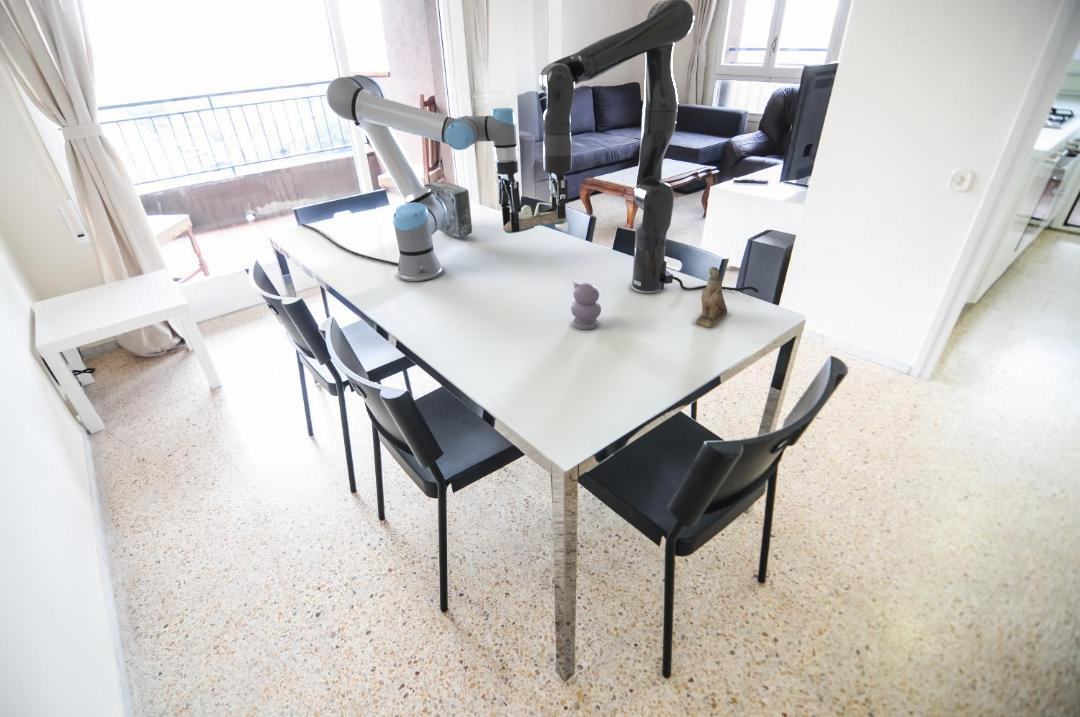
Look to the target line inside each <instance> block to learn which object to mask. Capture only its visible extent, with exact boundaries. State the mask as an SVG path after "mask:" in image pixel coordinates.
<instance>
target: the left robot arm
mask: <svg viewBox="0 0 1080 717" xmlns="http://www.w3.org/2000/svg"><path fill="white" fill-rule="evenodd" d="M325 99H326V102H327V105H328V107H329V109H330V110H331V111H332V113H333V114H334V115H336V116H337V117H339V118H341V119H343V120H347V121H351V122H353V124H354V125H355V127H356V128H357V129H358V130H361V131H363V132H364V134H365V135H366V137H367V138H368V140H369V143H371V146H372V147H373V149H374V151H375V153H376V154H377V156H378V157H379V159H380V161H381V163H382V164H383V166H384V168H385V169H386V171H387V173H388V175H389V176H390V178H391V180H392V182H393V183H394V185H395V187H396V188H397V190H398V192H399V194H400V196H401V197H402V201H401V204H400V205H398V206H397V207H395V208H394V210H393V212H392V224H393V226H394V230H395V231H394V232H395V236H396V242H397V247H398V251H399V259H398V262H395V261H390V260H386V259H381V258H376V257H373V256H369V255H366V254H362V253H359V252H356V251H354V250H351V249H349V248H346V247H344V246H342V245H341V244H340V243H337V241H335V240H333V239H332V238H331V237H330V236H328V235H326V234H325V233H324V232H322V230H321V231H320V230H319V229H317V228H315V227H313V226H311V225H308V224H306V223H301V226H303V227H306V228H308V229H311V230H313V231H315V232H317V233H318V234H320V235H322V236H324V237H325V239H327V240H329V242H331V243H333V244H334V245H335V246H337V247H339V248H340V249H342V250H344V251H345V252H348V253H351V254H353V255H356V256H359V257H362V258H365V259H368V260H373V261H376V262H380V263H386V264H390V265H395V266H397V276H398V278H399V279H400V280H402V281H406V282H413V283H414V282H425V281H429V280H432V279H435V278H438V277H439V276H440V275H441V274H442V273H443V268H442V264H441V263H440V260H439V259H438V256H437V254H436V252H435V250H434V243H433V235H435V233H436V232H438V231H440V230H439V229H440V228H441V227H442V226H443V224H444V223H445V221H446V218H447V210H446V207H445V205H444V203H443V202H442V201H441V200H440V199H439V198H437V197H435V196H434V195H433V193H432V191H431V189H429V188H426V187H424V185H425V184H424V183H423V181H422V180H421V177H420V176H419V174H418V173H417V171H416V169H415V168H414V165H413V164H412V162H411V160H410V158H409V156H408V155H407V152H406V151H405V149H404V147H403V146H402V143H401V142H400V140H399V138H398V137H397V135H396V133H395V131H394V130H397V131H400V132H404V133H407V134H411V135H414V136H418V137H422V138H425V139H429V140H433V141H436V142H440V143H442V144H443V143H444V144H446V145H448V146H450V148H452V149H453V150H455V151H463V150H466V149H469V148H470V147H471V146H473V145H474V144H476V143H478V142H493V154H494V155H493V156H494V160H495V163H494V164H495V166H494V167H495V173H496V174H497V178H496V179H497V184H498V188H497V189H498V204H499V205H500V207H501V217H502V226H503V227H504V226H505V225H506V224H507V223H508V222H509V221H510V220H511V230H512V233H511V234H514V233H513V232H517V233H520V232H519V231H520V229H519V212H521V208H522V205H521V197H520V182H519V181H516V178H515V174H517V173H518V172H519V161H518V160H517V159H518V151H519V148H518V144H517V123H516V115H515V110H514V109H513V108H511V107H495V108H492V109H491V110H490V114H489V115H463V116H458V117H456V118H455V117H451V116H448V115H445V114H441V113H437V112H434V111H430V110H427V109H423V108H419V107H416V106H412V105H409V104H405V103H401V102H398V101H394V100H391V99H388V98H386V97H385V94H384V91H383V89H382V87H381V86H380V84H379V83H378V82H377V81H376V80H375V79H373V78H371V77H370V76H366V75H360V74H355V75H353V76H340V77H336V78H334V79H333V80H331V81H330V82H329V84H328V85H327V88H326V90H325Z"/></svg>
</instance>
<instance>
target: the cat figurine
mask: <svg viewBox="0 0 1080 717" xmlns="http://www.w3.org/2000/svg"><path fill="white" fill-rule="evenodd" d="M572 284H573V288H574V290H573V298H574V301H573V302H572V304H571V306H570V312H571V314H572V316H573V317H574V318H573V326H574V327H575V328H577V329H578V330H579V329H580V330H585V331H586V330H592V329H594V328H596V327H597V324H598V319H597V318H598V317H600V315H601V312H602V307H601V304H600V303H599V302H598V300H599V298H600V291H599V290H598V287H596V286H595V285H593V284H591V283H589V282H588V283H587V282H583V283H580V284H579V283H577V282H575V281H573V282H572Z"/></svg>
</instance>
